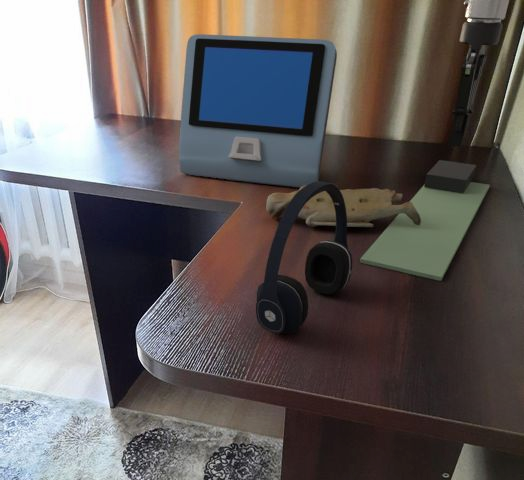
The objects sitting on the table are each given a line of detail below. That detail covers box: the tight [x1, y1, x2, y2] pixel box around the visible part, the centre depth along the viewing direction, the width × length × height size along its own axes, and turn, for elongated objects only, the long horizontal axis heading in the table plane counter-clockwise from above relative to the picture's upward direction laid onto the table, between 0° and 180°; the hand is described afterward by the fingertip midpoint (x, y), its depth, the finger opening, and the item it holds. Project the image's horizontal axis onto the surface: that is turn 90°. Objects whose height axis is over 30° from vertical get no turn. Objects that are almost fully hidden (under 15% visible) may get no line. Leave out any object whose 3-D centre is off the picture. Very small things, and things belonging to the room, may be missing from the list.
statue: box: [265, 184, 421, 228], centre depth 100 cm, size 10×7×30 cm
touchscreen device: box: [178, 33, 338, 189], centre depth 121 cm, size 35×20×30 cm, turn 73°
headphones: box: [255, 180, 353, 335], centre depth 70 cm, size 20×7×18 cm, turn 146°
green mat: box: [359, 181, 491, 282], centre depth 105 cm, size 14×55×1 cm, turn 152°
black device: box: [423, 159, 477, 193], centre depth 122 cm, size 9×3×14 cm
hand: (455, 145), depth 114 cm, fingers closed
